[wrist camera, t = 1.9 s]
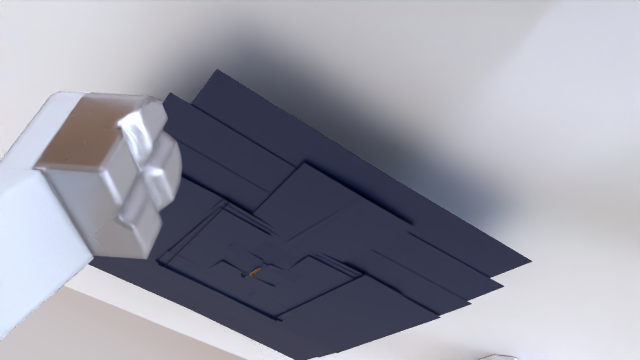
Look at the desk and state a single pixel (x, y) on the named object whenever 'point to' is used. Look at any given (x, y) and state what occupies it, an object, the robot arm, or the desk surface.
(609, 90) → the desk surface
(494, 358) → the cup
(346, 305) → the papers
